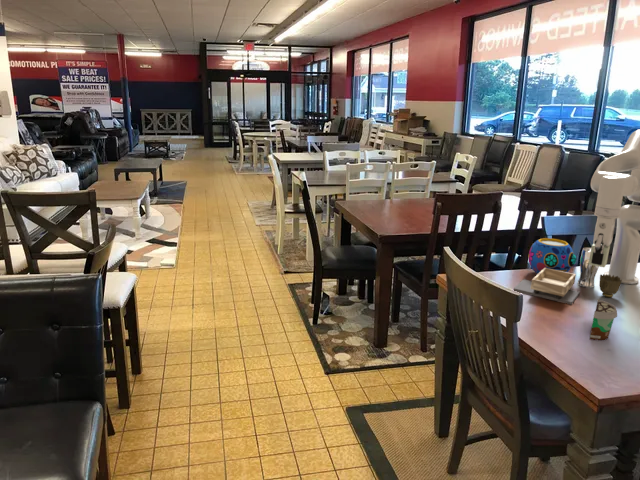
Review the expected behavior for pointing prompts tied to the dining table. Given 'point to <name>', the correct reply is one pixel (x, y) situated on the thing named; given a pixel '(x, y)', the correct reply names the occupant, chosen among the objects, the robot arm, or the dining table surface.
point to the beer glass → (587, 270)
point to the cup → (609, 285)
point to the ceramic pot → (551, 255)
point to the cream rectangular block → (605, 256)
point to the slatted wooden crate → (553, 282)
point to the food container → (602, 320)
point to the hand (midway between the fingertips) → (597, 261)
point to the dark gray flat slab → (526, 288)
